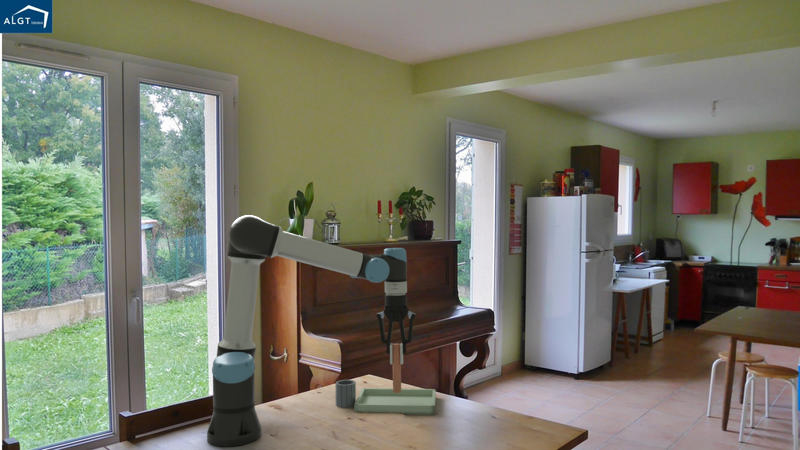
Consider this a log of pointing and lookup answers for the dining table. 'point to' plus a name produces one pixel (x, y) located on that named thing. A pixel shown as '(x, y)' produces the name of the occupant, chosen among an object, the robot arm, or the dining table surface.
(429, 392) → the tray
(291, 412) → the dining table surface
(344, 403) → the cup
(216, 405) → the robot arm
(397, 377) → the pin
